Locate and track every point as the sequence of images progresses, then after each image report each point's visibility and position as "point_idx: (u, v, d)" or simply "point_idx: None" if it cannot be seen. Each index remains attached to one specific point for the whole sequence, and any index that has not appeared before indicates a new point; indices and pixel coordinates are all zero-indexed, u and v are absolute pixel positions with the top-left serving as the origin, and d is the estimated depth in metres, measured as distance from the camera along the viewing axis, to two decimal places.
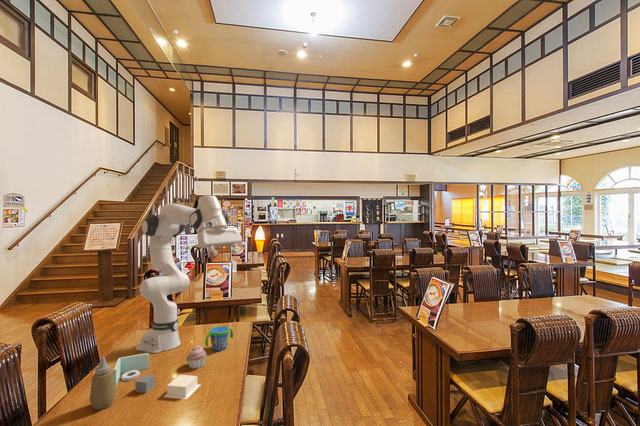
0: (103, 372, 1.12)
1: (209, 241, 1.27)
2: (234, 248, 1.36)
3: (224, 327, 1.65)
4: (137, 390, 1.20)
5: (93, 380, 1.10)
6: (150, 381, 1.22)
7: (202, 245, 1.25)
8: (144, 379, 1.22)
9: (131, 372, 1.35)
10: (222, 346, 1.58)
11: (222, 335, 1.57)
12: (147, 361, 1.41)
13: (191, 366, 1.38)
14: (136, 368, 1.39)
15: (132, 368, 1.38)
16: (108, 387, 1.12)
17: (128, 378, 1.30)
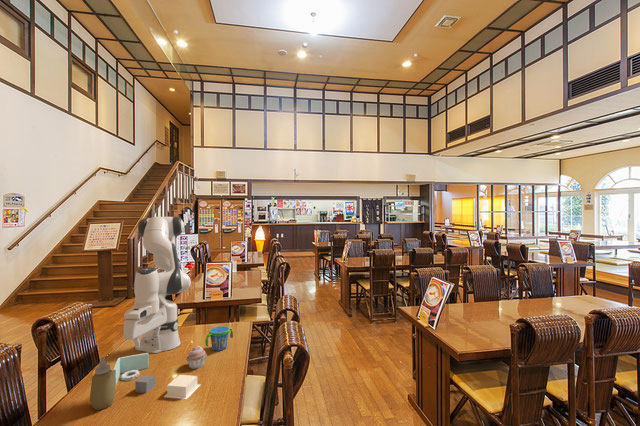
0: (103, 372, 1.12)
1: (138, 333, 1.15)
2: (157, 332, 1.27)
3: (224, 327, 1.65)
4: (137, 390, 1.20)
5: (93, 380, 1.10)
6: (150, 381, 1.22)
7: (128, 338, 1.13)
8: (144, 379, 1.22)
9: (131, 372, 1.35)
10: (222, 346, 1.58)
11: (222, 335, 1.57)
12: (147, 361, 1.41)
13: (191, 366, 1.38)
14: (136, 368, 1.39)
15: (132, 368, 1.38)
16: (108, 387, 1.12)
17: (128, 378, 1.30)
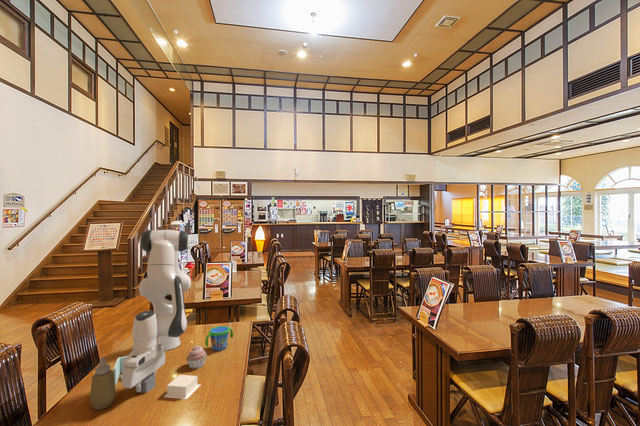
0: (103, 372, 1.12)
1: (136, 381, 1.15)
2: None
3: (224, 327, 1.65)
4: None
5: (93, 380, 1.10)
6: (150, 381, 1.22)
7: (127, 387, 1.13)
8: (144, 379, 1.22)
9: None
10: (222, 346, 1.58)
11: (222, 335, 1.57)
12: None
13: (191, 366, 1.38)
14: None
15: None
16: (108, 387, 1.12)
17: None
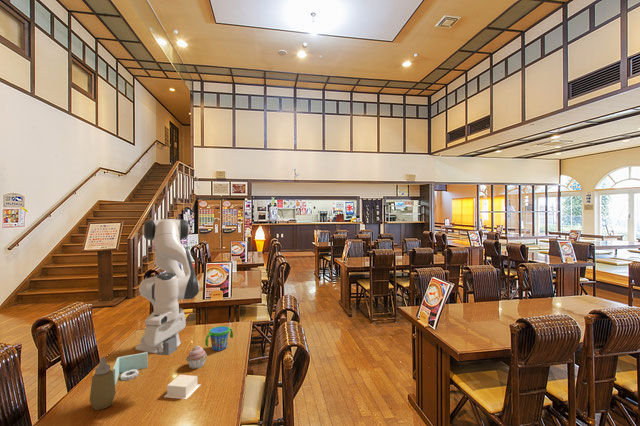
0: (103, 372, 1.12)
1: (159, 340, 1.14)
2: None
3: (224, 327, 1.65)
4: None
5: (93, 380, 1.10)
6: (171, 342, 1.20)
7: (150, 345, 1.12)
8: (165, 340, 1.21)
9: (130, 371, 1.36)
10: (222, 346, 1.58)
11: (222, 335, 1.57)
12: (146, 360, 1.41)
13: (191, 366, 1.38)
14: (135, 367, 1.39)
15: (131, 367, 1.39)
16: (108, 387, 1.12)
17: (127, 377, 1.31)
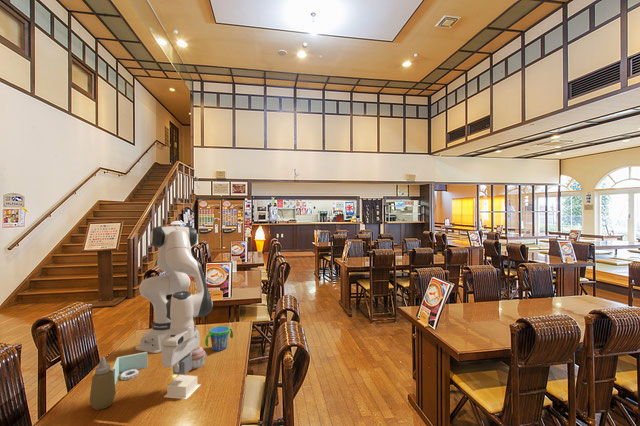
0: (103, 372, 1.12)
1: (175, 360, 1.14)
2: None
3: (224, 327, 1.65)
4: None
5: (93, 380, 1.10)
6: (187, 361, 1.20)
7: (167, 366, 1.12)
8: (181, 359, 1.20)
9: (130, 371, 1.36)
10: (222, 346, 1.58)
11: (222, 335, 1.57)
12: (145, 360, 1.41)
13: None
14: (134, 367, 1.39)
15: (130, 367, 1.39)
16: (108, 387, 1.12)
17: (127, 377, 1.31)
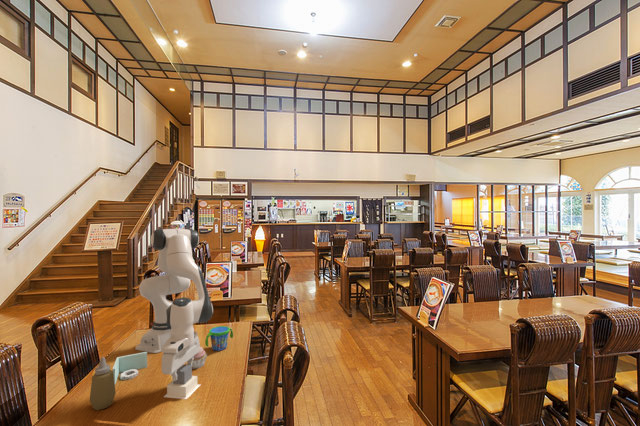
0: (103, 372, 1.12)
1: (175, 367, 1.14)
2: (190, 363, 1.26)
3: (224, 327, 1.65)
4: None
5: (93, 380, 1.10)
6: (187, 371, 1.20)
7: (167, 373, 1.12)
8: (181, 369, 1.20)
9: (129, 371, 1.36)
10: (222, 346, 1.58)
11: (222, 335, 1.57)
12: (145, 360, 1.42)
13: None
14: (134, 367, 1.40)
15: (130, 367, 1.39)
16: (108, 387, 1.12)
17: (127, 377, 1.31)
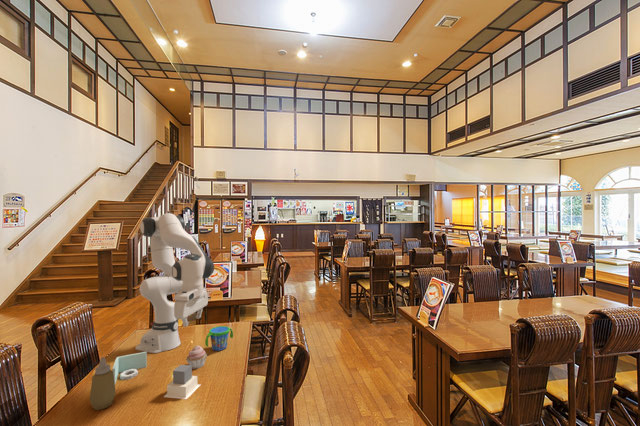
0: (103, 372, 1.12)
1: (186, 314, 1.26)
2: (199, 313, 1.38)
3: (224, 327, 1.65)
4: (175, 379, 1.19)
5: (93, 380, 1.10)
6: (187, 371, 1.20)
7: (179, 318, 1.24)
8: (181, 369, 1.20)
9: (129, 371, 1.36)
10: (222, 346, 1.58)
11: (222, 335, 1.57)
12: (145, 360, 1.42)
13: None
14: (134, 367, 1.40)
15: (130, 367, 1.39)
16: (108, 387, 1.12)
17: (126, 377, 1.31)
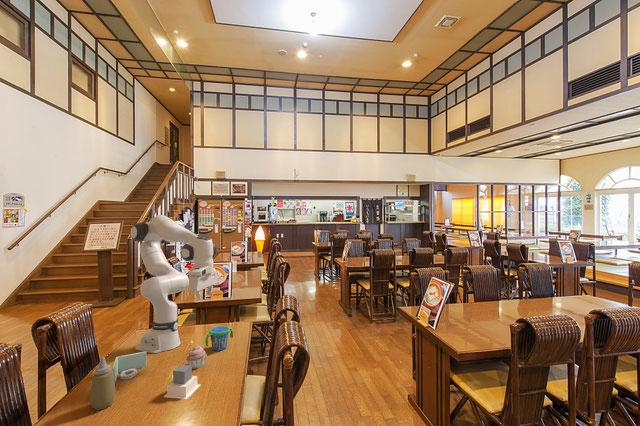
0: (103, 372, 1.12)
1: (199, 287, 1.42)
2: (210, 290, 1.54)
3: (224, 327, 1.65)
4: (175, 379, 1.19)
5: (93, 380, 1.10)
6: (187, 371, 1.20)
7: (193, 291, 1.39)
8: (181, 369, 1.20)
9: (129, 370, 1.36)
10: (222, 346, 1.58)
11: (222, 335, 1.57)
12: (145, 360, 1.42)
13: None
14: (134, 367, 1.40)
15: (130, 367, 1.39)
16: (108, 387, 1.12)
17: (126, 376, 1.32)
